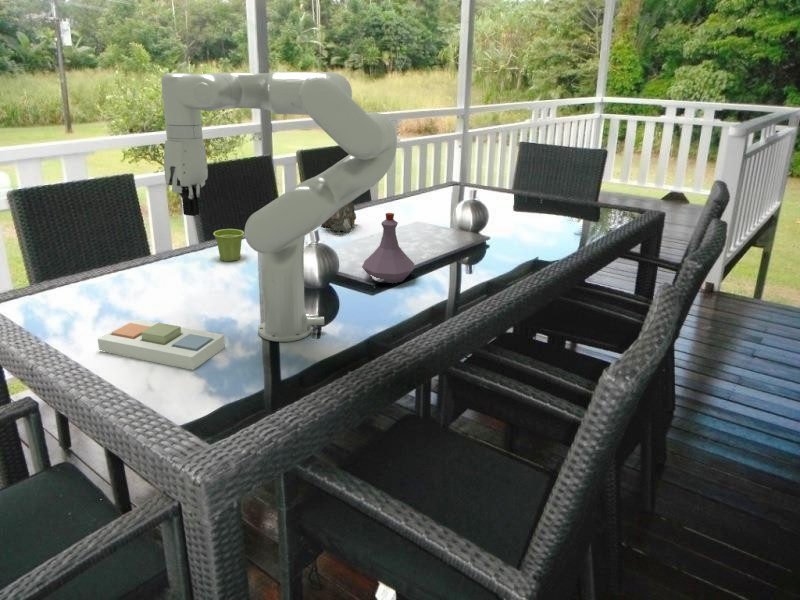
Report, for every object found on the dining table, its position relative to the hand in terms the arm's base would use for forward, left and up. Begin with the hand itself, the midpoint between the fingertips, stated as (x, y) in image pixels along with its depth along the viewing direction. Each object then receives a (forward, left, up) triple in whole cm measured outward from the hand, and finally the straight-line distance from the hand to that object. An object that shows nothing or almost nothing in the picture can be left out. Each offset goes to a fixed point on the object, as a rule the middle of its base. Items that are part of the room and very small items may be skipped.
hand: (191, 214), depth 144 cm
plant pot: (-5, -52, -27) cm, 59 cm away
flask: (-52, -27, -27) cm, 65 cm away
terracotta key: (+14, +10, -26) cm, 31 cm away
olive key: (+7, +14, -24) cm, 29 cm away
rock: (-44, -87, -27) cm, 101 cm away
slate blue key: (0, +18, -26) cm, 32 cm away
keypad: (+7, +14, -27) cm, 31 cm away
